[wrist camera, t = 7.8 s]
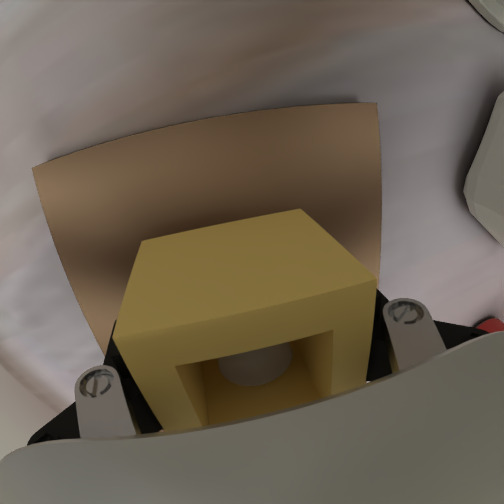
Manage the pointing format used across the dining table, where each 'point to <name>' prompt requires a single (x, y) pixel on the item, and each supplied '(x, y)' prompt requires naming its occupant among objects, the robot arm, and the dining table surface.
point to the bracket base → (212, 199)
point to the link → (244, 317)
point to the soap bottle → (489, 176)
